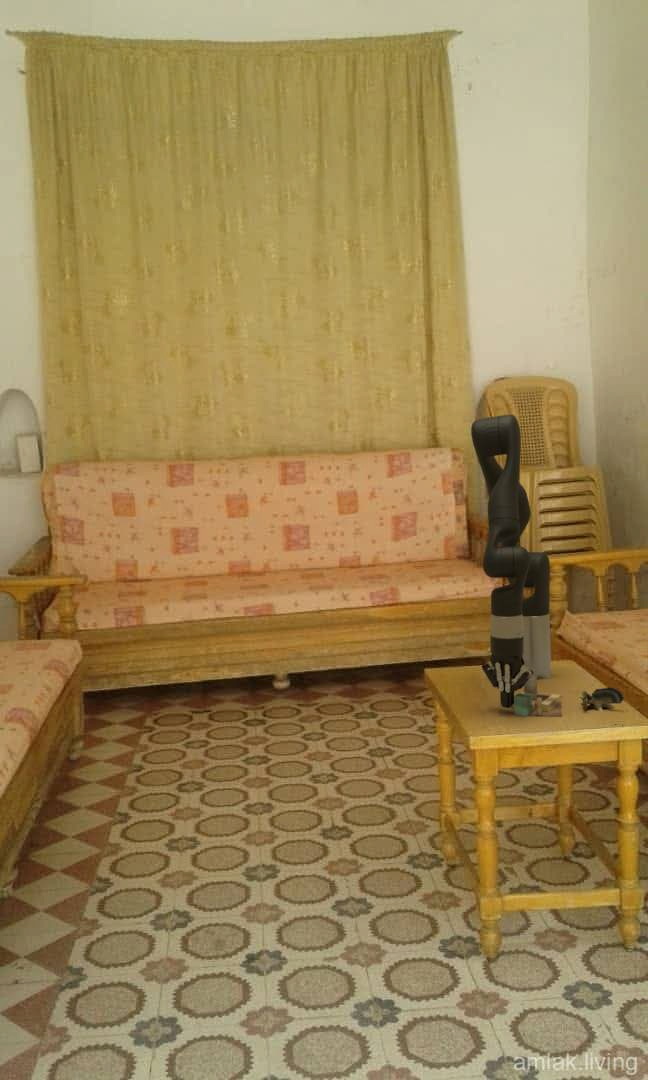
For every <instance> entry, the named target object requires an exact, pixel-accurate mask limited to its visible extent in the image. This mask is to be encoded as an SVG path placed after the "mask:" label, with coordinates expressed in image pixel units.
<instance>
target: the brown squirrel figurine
mask: <svg viewBox="0 0 648 1080" xmlns="http://www.w3.org/2000/svg"><path fill="white" fill-rule="evenodd" d="M581 695H582V696H579V698H580V699H581V701H582V702H580V705H581V706H582V707H583V710H584V711H588V710H590V709H593V708H594V709H595V710H596V711H598V712H603V711H604V710H603V708H605V709H608V710H614V709H616V707H615V706H614V705H613V704H615V705H617V704H622V702H623V701H624V699H625V697H624V694H622V692H621V691H620V690H618V689H617V688H614V687H609V686H608V687H603V688H596V689H595V690H594V691H593V692H592V694H591V695H590V693H588V692H587V691H586V690H582V691H581Z"/></svg>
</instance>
